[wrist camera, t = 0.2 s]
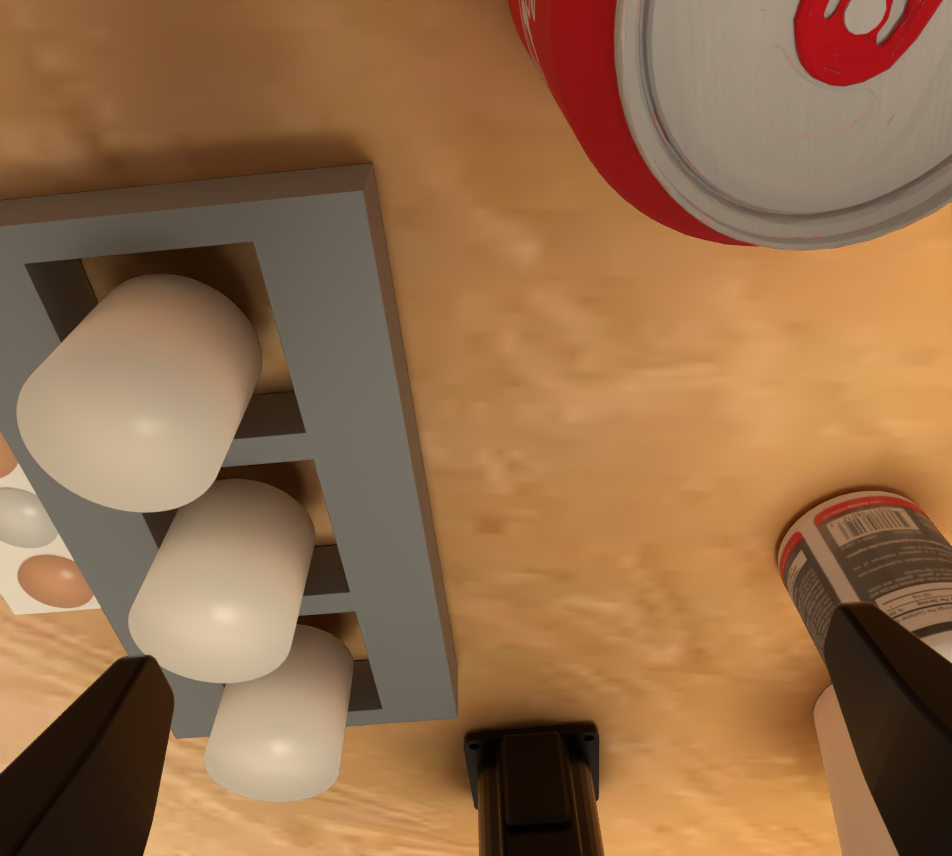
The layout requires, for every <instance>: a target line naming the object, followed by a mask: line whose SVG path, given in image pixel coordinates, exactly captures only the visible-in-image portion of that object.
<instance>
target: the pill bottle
mask: <svg viewBox="0 0 952 856" xmlns="http://www.w3.org/2000/svg"><path fill="white" fill-rule="evenodd" d="M778 568H779V573H780V575H781V578H782V581H783V583H784V585H785V587H786V589H787V591H788V593H789V594H790V596H791V599H792V600H793V602H794V604H795V606H796V608H797V610H798V612H799V614H800V616H801V618H802V620H803V622H804V624H805V626H806V628H807V630H808V632H809V634H810V636H811V638H812V640H813V642H814V644H815V646H816V648H817V649H818V651H819V653H820V655H821V657H822V659H823V661H824V663H825V659H824V653H823V644H824V640H825V636H826V633H827V629H828V625H829V622H830V618H831V615H832V611H833V609H834V607H835V606H836V605H837V604H839V603H846V602H860V601H865V602H870V603H872V604H874V605H876V606H877V607H878V608H880V609H881V610H882V611H884V612H885V613H886V614H888V615H889V616H890V617H892V618H893V619H894V620H896V621H897V622H898V623H900V624H901V625H902V626H904V627H905V628H906V629H908V630H909V631H910V632H912V633H913V634H914V635H915V636H917V637H918V638H919V639H921V640H922V641H923V642H925V643H926V644H927V645H929V646H930V647H931V648H933V649H934V650H935V651H937V652H938V653H939V654H941V655H942V656H943V657H945V658H946V659H947V660H949V661H950V662H951V663H952V546H951V545H950V544H949V542H948V541H947V540H946V539H945V538H944V537H943V535H942V534H941V533H940V531H939V530H938V529H937V528H936V526H935V525H934V524H933V522H932V521H931V520H930V519H929V517H928V516H927V515H926V514H925V513H924V512H923V511H922V510H921V509H920V508H919V507H918V506H917V505H916V504H915V503H913V502H912V501H910V500H909V499H907V498H905V497H902V496H900V495H897V494H893V493H889V492H883V491H860V492H854V493H848V494H845V495H841V496H838V497H835V498H832V499H830V500H828V501H825V502H823V503H821V504H820V505H818V506H816V507H814V508H813V509H811V510H810V511H808V512H807V513H806V514H804V515H803V516H802V517H801V518H800V519H798V520H797V521H796V522H795V523H794V524H793V526H792V527H791V528H790V529H789V531H788V532H787V534H786V535H785V537H784V539H783V541H782V543H781V546H780V549H779V553H778ZM825 665H826V663H825ZM826 667H827V666H826Z"/></svg>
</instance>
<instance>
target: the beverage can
mask: <svg viewBox="0 0 952 856" xmlns="http://www.w3.org/2000/svg"><path fill="white" fill-rule="evenodd" d="M508 1H509V6H510V11H511V14H512V17H513V20H514V24H515V26H516V29H517V31H518V34H519V36H520V39H521V40H522V42H523V44H524V46H525V48H526V50H527V52H528V53H529V55H530V57H531V59H532V60H533V62H534V64H535V66H536V67H537V69H538V71H539V73H540V74H541V76H542V78H543V80H544V81H545V83H546V85H547V87H548V88H549V90H550V92H551V93H552V95H553V97H554V99H555V100H556V102H557V104H558V106H559V107H560V109H561V111H562V113H563V114H564V116H565V118H566V120H567V121H568V123H569V125H570V127H571V128H572V130H573V132H574V134H575V135H576V137H577V139H578V141H579V142H580V144H581V146H582V147H583V149H584V151H585V153H586V154H587V156H588V158H589V159H590V160H591V162H592V163H593V165H594V166H595V167H596V169H597V170H598V172H599V173H600V174H601V175H602V177H603V178H604V179H605V180H606V181H607V182H608V184H609V185H610V186H611V187H612V188H613V189H614V190H615V191H616V192H617V193H618V194H619V195H620V196H622V197H623V198H624V199H625V200H626V201H627V202H629V203H630V204H631V205H633V206H634V207H635V208H636V209H638V210H639V211H640V212H642V213H644V214H645V215H647V216H648V217H650V218H651V219H653V220H655V221H657V222H659V223H661V224H663V225H665V226H667V227H669V228H672V229H674V230H676V231H678V232H681V233H683V234H685V235H689V236H692V237H696V238H700V239H704V240H708V241H713V242H717V243H722V244H729V245H741V246H762V247H768V248H774V249H783V250H800V251H802V250H817V249H832V248H839V247H843V246H847V245H852V244H856V243H860V242H864V241H869V240H872V239H875V238H877V237H880V236H883V235H885V234H888V233H891V232H894V231H896V230H899V229H902V228H904V227H906V226H908V225H910V224H912V223H914V222H916V221H918V220H921V219H923V218H925V217H927V216H929V215H931V214H933V213H934V212H936V211H938V210H939V209H941V208H942V207H944V206H945V205H947V204H949V203H950V202H952V0H508Z"/></svg>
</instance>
